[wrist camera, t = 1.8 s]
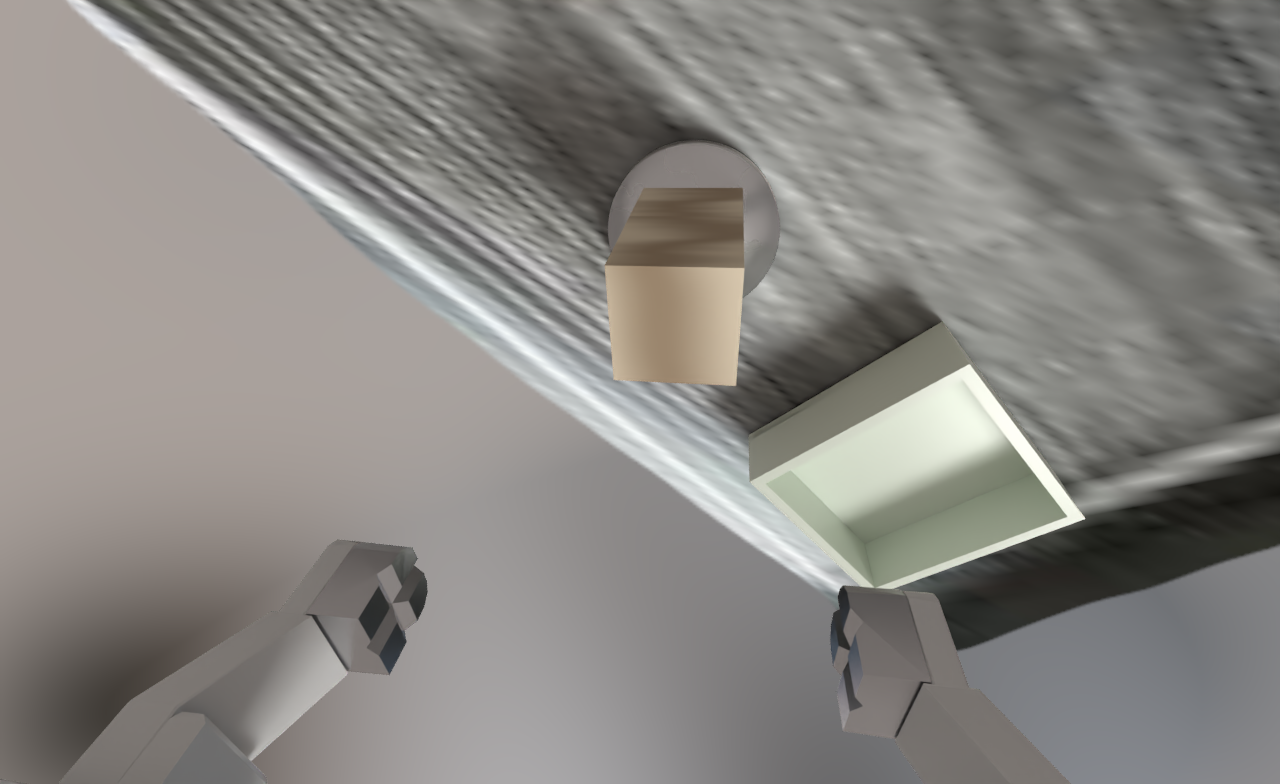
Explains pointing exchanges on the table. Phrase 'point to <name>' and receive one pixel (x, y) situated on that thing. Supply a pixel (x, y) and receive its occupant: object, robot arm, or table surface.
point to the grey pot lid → (707, 170)
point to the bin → (909, 467)
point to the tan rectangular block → (678, 287)
